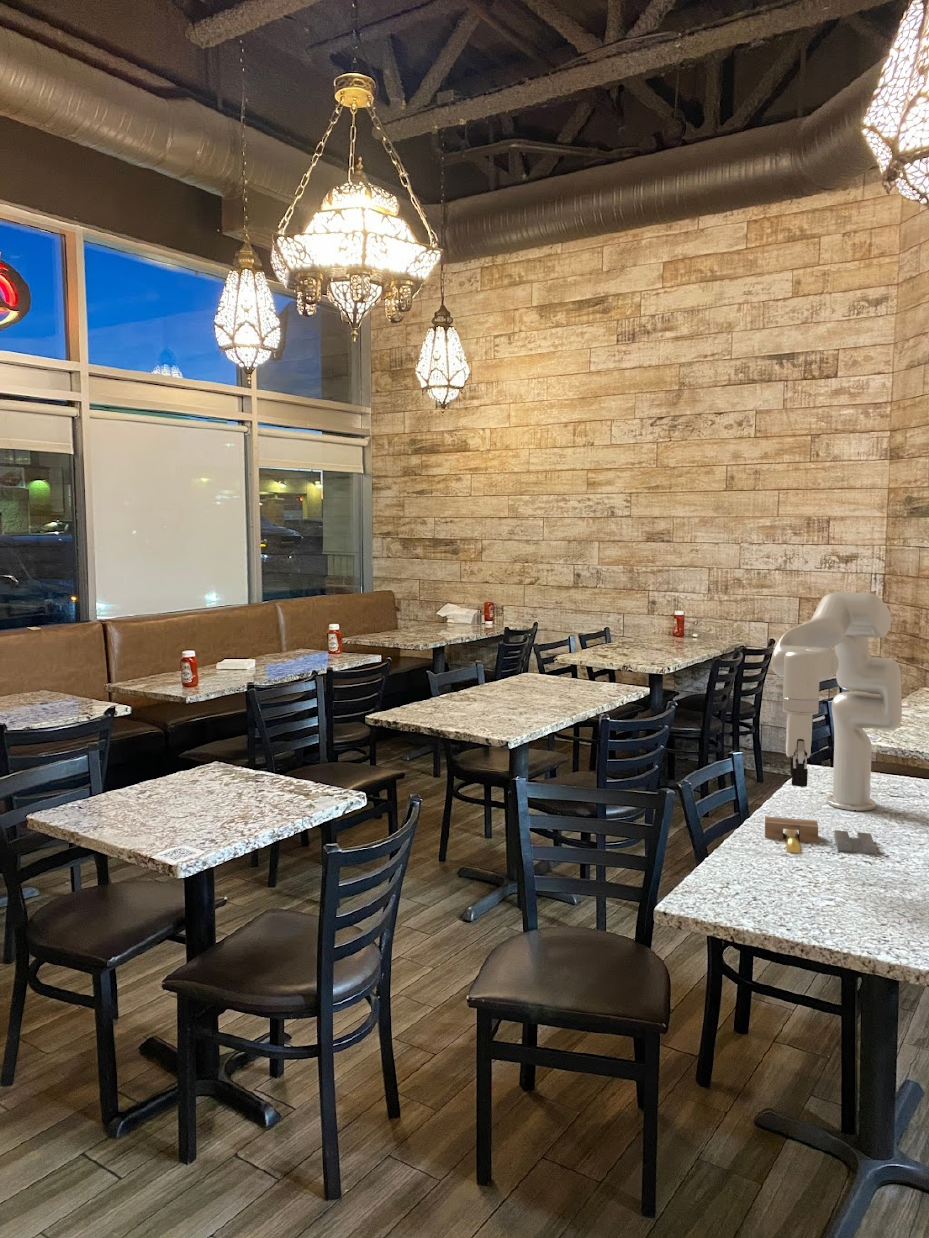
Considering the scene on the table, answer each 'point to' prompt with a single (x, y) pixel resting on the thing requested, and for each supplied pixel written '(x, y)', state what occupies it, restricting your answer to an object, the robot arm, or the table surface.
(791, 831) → the brass rod
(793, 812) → the table surface
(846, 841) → the iron V-block
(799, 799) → the table surface
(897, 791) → the table surface
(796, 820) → the walnut beam
